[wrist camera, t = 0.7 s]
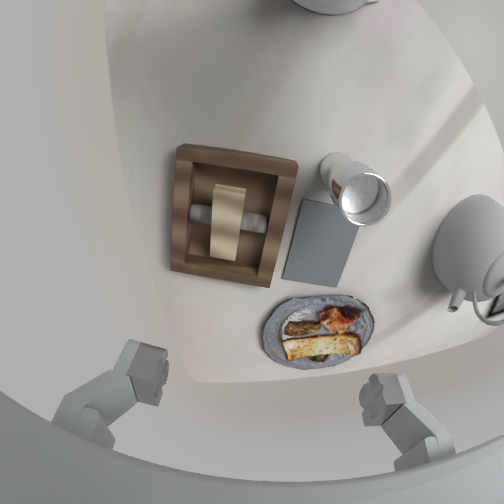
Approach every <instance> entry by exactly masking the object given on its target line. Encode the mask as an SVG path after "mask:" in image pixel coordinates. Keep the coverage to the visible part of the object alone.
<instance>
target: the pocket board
mask: <svg viewBox="0 0 504 504" xmlns="http://www.w3.org/2000/svg"><path fill="white" fill-rule="evenodd" d="M297 170H298V164H297V162H296V161H294V160H289V159H284V158H279V157H274V156H268V155H263V154H257V153H251V152H245V151H239V150H232V149H225V148H218V147H210V146H202V145H194V144H183V145H181V146H179V147H177V155H176V166H175V179H174V193H173V211H172V236H171V271H177V272H182V273H187V274H192V275H198V276H203V277H209V278H214V279H220V280H225V281H231V282H237V283H243V284H249V285H254V286H260V287H267V288H270V284H271V280H272V276H273V272H274V268H275V264H276V260H277V256H278V252H279V247H280V243H281V239H282V235H283V231H284V227H285V222H286V218H287V214H288V210H289V205H290V201H291V197H292V192H293V188H294V183H295V179H296V174H297ZM216 184H219V185H226V186H232V187H238V188H244V189H246V193H245V200H244V206H243V213H242V220H241V226H240V233H239V240H238V246H237V253H236V258H235V261H233V260H227V259H221V258H216V257H210V244H211V222H212V203H213V190H214V188H215V185H216Z"/></svg>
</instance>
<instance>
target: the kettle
mask: <svg viewBox="0 0 504 504" xmlns="http://www.w3.org/2000/svg"><path fill="white" fill-rule="evenodd" d="M432 266H433V270H434V273H435V275H436V276H437V278H438V279H439V280H440V281H441V282H442V283H443V285H444V286H445V287H446V288H447V289H448V290H449V291H450V292H451V293H453V295H452V298H451V301H450V304H449V307H448V311H449V312H455V311H457V310H458V308H459V307H460V305H461V303H462V302H463V300H467V301H472V302H473V306H474V310H475V313H476V315H477V316H478V318H479V319H480V320H481V321H483V322H484V323H486V324H488V325H492V326H498V325H503V324H504V320H501V321H490V320H488V319H486V318H484V317H483V316H482V315H481V313H480V312H479V310H478V307H477V302H481V301H486V300H489V299H492V298H494V297H496V296H498V295H499V294H501V293H502V292H503V291H504V207H502V206H501V205H500V204H499V203H497V202H496V201H495V200H494V199H492V198H491V197H489V196H487V195H482V194H478V195H472V196H469V197H467V198H465V199H464V200H462V201H461V202H459V203H458V204H457V205H456V206H455V207H454V208H453V209H452V210H451V211H450V212H449V213H448V215H447V216H446V217H445V219H444V220H443V222H442V224H441V226H440V228H439V230H438V232H437V235H436V237H435V240H434V244H433V249H432Z"/></svg>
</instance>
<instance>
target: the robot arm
mask: <svg viewBox="0 0 504 504" xmlns="http://www.w3.org/2000/svg"><path fill="white" fill-rule="evenodd" d="M293 1H294V2H296V3H297V4H299V5H301V6H303V7H305V8H307V9H309V10H312V11H315V12H318V13H323V14H332V15H336V14H345V13H349V12H352V11H354V10H356V9H358V8H359V7H360V6H362V5H364V4H367V3H374V2H377V1H379V0H293ZM167 356H168V351H167V349H163V348H160V347H156V346H152V345H149V344H146V343H142V342H138V341H134V340H131V339H130V340H128V342H127V343H126V345H125V347H124V349H123V351H122V353H121V355H120V357H119V359H118V361H117V363H116V365H115V367H114V369H113V371H112V370H108V371H106V372H105V373H103V374H101V375H100V376H98V377H96V378H94V379H93V380H91V381H89V382H88V383H86V384H84V385H82V386H81V387H79V388H77V389H75V390H74V391H72V392H70V393H69V394H67V395H65V396H64V398H63V400H62V401H61V403H60V405H59V407H58V409H57V411H56V413H55V415H54V417H53V419H52V421H51V422H49V421H47V420H46V419H44V418H42V417H40V416H38V415H37V414H35V413H33V412H32V411H30V410H28V409H27V408H25V407H23V406H22V405H20V404H19V403H17V402H16V401H14V400H13V399H11V398H10V397H8V396H7V395H5V394H4V393H3V392H1V391H0V504H504V435H501V436H498V437H496V438H494V439H492V440H489V441H487V442H485V443H483V444H480V445H478V446H476V447H473V448H471V449H468V450H466V451H463V452H460V453H458V454H456V452H455V448H454V445H453V442H452V439H451V435H450V432H449V431H448V430H447V429H446V428H445V427H444V426H443V425H442V424H441V423H440V422H439V421H437V420H436V419H435V418H434V417H433V416H432V415H431V414H430V413H429V412H428V411H427V410H426V409H425V408H423V406H421V405H420V404H419V403H416V402H415V399H414V397H413V393H412V390H411V388H410V385H409V382H408V379H407V377H406V375H405V374H404V373H378V374H377V373H376V374H372V375H371V376H370V378H369V382H368V383H367V384H365V385H364V386H363V387H362V389H361V391H360V395H359V401H360V405H361V406H362V407H363V408H364V411H363V413H362V416H363V421H364V425H365V426H381V425H382V426H381V427H382V428H383V430H384V431H385V432H386V433H387V435H388V436H389V437H390V439H391V440H392V441H393V443H394V444H395V445H396V446H397V448H398V449H399V450H400V452H401V453H402V454H403V455H402V456H400V457H399V458H397V459H396V460H395V461H394V467H395V471H394V472H390V473H384V474H379V475H373V476H367V477H360V478H352V479H343V480H331V481H316V482H269V481H252V480H241V479H232V478H224V477H216V476H210V475H204V474H199V473H193V472H188V471H183V470H179V469H174V468H170V467H166V466H162V465H158V464H155V463H151V462H147V461H144V460H141V459H137V458H134V457H131V456H128V455H125V454H122V453H119V452H117V451H114V450H112V449H113V446H114V443H115V438H114V436H113V435H112V433H111V432H110V430H109V429H108V426H109V425H110V424H112V423H113V422H114V421H115V420H117V419H118V418H119V417H120V416H122V415H123V414H124V413H125V412H127V411H128V410H129V409H130V408H132V407H133V406H134V405H135V404H136V403H137V401H138V402H142V403H146V404H150V405H154V406H158V405H159V403H160V399H161V396H162V386H163V385H165V384H166V380H167V376H168V371H169V362H168V361H167V360H166V359H167Z"/></svg>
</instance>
